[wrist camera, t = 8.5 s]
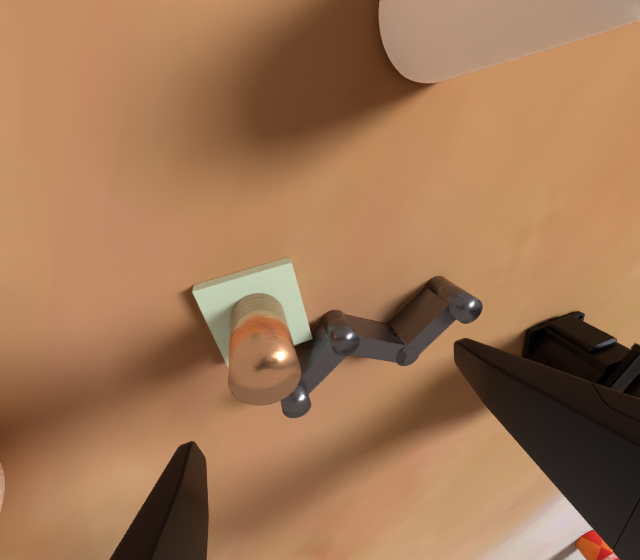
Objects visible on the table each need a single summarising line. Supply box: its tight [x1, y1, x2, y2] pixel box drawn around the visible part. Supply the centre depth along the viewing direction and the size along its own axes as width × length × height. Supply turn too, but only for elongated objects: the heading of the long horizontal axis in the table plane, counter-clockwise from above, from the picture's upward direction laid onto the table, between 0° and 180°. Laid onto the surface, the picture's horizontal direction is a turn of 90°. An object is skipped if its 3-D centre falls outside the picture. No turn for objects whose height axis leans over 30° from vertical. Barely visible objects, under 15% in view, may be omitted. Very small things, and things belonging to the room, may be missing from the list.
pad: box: [192, 257, 313, 367], centre depth 21 cm, size 6×6×1 cm
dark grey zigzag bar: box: [281, 276, 482, 418], centre depth 22 cm, size 5×16×4 cm, turn 102°
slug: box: [228, 293, 301, 405], centre depth 17 cm, size 4×4×6 cm
